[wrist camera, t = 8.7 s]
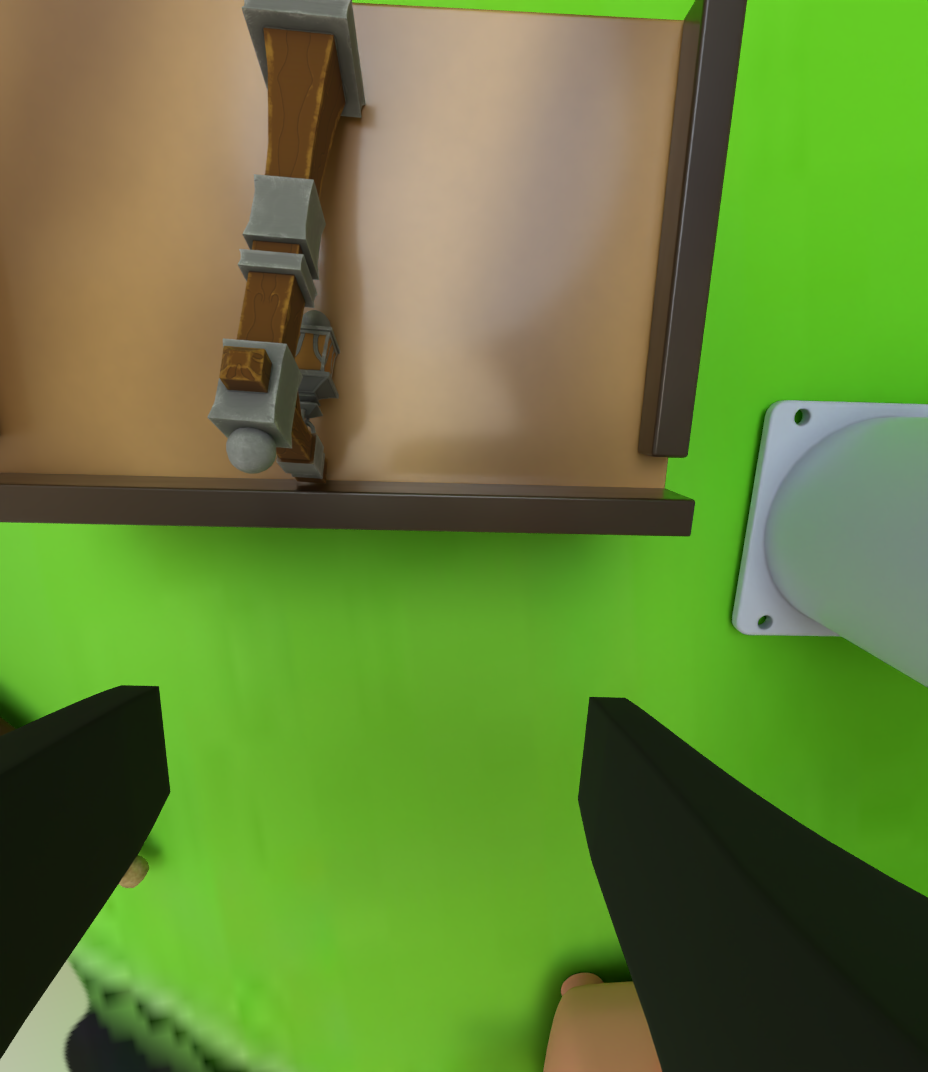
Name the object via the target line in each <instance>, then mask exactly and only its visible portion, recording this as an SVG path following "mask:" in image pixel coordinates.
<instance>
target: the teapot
mask: <svg viewBox="0 0 928 1072" xmlns="http://www.w3.org/2000/svg"><path fill="white" fill-rule="evenodd" d="M561 995H562V998H561V1000H560V1002H559V1004H558V1007H557V1010H556V1013H555V1016H554V1020H553V1024H552V1028H551V1032H550V1037H549V1041H548V1047H547V1052H546V1057H545V1063H544V1071H543V1072H662V1069H661V1065H660V1062H659V1059H658V1056H657V1052H656V1049H655V1046H654V1043H653V1040H652V1036H651V1033H650V1030H649V1027H648V1023H647V1020H646V1017H645V1015H644V1012H643V1009H642V1006H641V1003H640V1000H639V997H638V994H637V992H636V989H635V986H634V983H633V981H632V982H614V983H604V982H603V981H602V979H601V978H600V977H598V976H597V975H594V974H591V973H578V974H575V975H572V976H571V977H569V978H568V979H566V980H565V982H564V983H563V985H562V987H561Z"/></svg>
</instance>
